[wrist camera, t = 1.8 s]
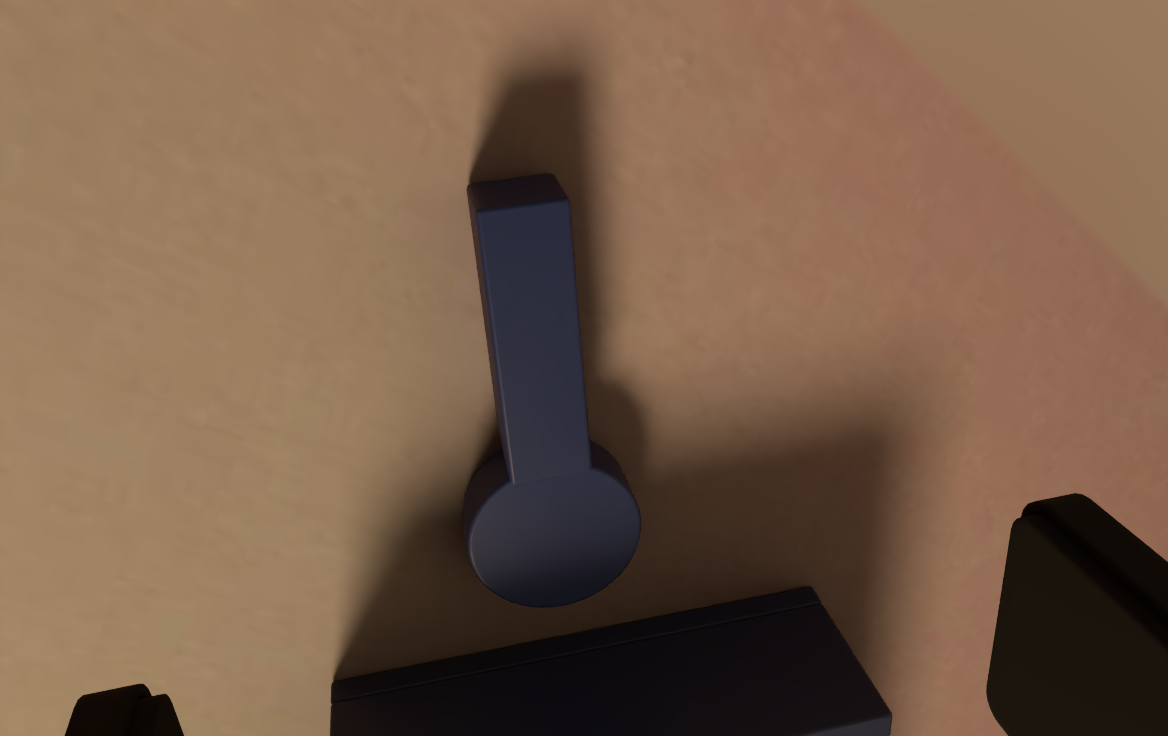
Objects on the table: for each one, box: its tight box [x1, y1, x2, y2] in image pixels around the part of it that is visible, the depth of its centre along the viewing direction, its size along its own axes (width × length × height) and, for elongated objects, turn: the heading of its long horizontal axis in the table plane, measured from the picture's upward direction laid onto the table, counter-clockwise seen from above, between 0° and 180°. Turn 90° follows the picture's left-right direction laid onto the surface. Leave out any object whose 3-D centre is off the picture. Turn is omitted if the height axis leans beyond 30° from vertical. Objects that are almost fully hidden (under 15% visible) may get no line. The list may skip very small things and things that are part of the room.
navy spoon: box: [462, 173, 641, 608], centre depth 19 cm, size 9×4×2 cm, turn 4°
